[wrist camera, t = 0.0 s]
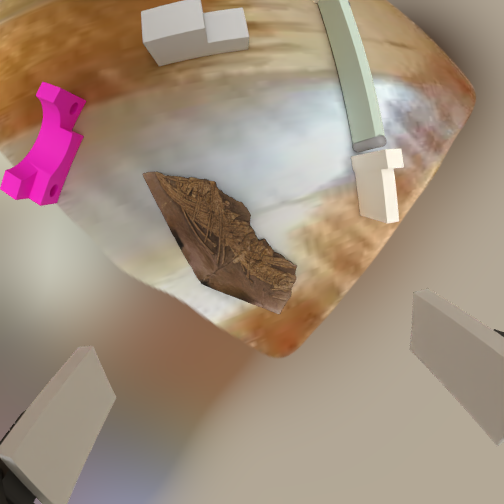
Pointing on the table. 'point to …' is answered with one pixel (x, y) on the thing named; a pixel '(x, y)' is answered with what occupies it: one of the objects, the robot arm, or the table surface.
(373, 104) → the spring door
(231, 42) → the white stepped block
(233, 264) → the wooden fragment
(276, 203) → the table surface
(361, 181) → the wall frame
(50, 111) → the magenta saddle bracket
